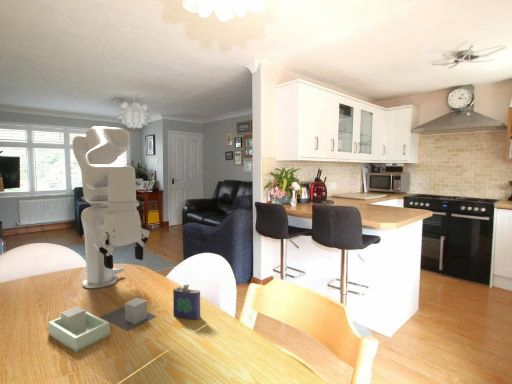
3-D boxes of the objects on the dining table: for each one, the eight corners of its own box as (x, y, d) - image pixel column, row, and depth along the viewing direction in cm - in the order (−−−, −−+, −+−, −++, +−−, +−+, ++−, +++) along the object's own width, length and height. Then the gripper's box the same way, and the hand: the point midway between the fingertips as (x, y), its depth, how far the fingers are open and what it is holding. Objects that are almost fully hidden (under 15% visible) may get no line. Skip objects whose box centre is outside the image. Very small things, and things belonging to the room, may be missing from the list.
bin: (82, 321, 90) (81, 308, 89) (109, 336, 82) (109, 322, 82) (49, 335, 82) (48, 322, 82) (76, 353, 74) (75, 338, 74)
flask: (201, 317, 92) (201, 284, 92) (197, 322, 90) (196, 288, 89) (176, 313, 95) (175, 281, 94) (171, 317, 92) (170, 285, 91)
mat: (127, 305, 100) (127, 304, 100) (156, 317, 92) (156, 316, 92) (99, 317, 92) (99, 316, 92) (128, 332, 84) (128, 331, 84)
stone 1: (78, 324, 87) (77, 306, 86) (86, 328, 84) (85, 310, 84) (61, 331, 83) (60, 312, 82) (69, 336, 80) (68, 317, 80)
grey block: (138, 313, 94) (137, 297, 93) (147, 317, 91) (146, 300, 91) (125, 320, 90) (124, 302, 89) (134, 324, 88) (133, 306, 87)
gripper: (140, 203, 96) (142, 254, 97) (85, 209, 81) (88, 269, 83) (155, 205, 91) (156, 258, 93) (100, 211, 77) (102, 274, 79)
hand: (124, 263), depth 88 cm, fingers open, 9 cm apart
